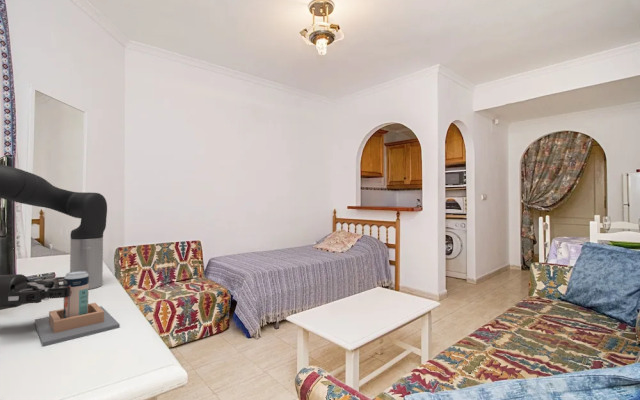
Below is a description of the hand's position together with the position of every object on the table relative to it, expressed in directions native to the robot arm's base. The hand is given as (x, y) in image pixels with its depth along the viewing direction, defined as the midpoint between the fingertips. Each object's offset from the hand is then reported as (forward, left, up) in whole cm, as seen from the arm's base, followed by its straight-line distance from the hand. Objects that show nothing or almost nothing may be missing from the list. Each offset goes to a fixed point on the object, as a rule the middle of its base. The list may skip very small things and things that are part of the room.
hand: (78, 287), depth 77 cm
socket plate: (0, 0, -9) cm, 9 cm away
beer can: (0, 0, -9) cm, 9 cm away
